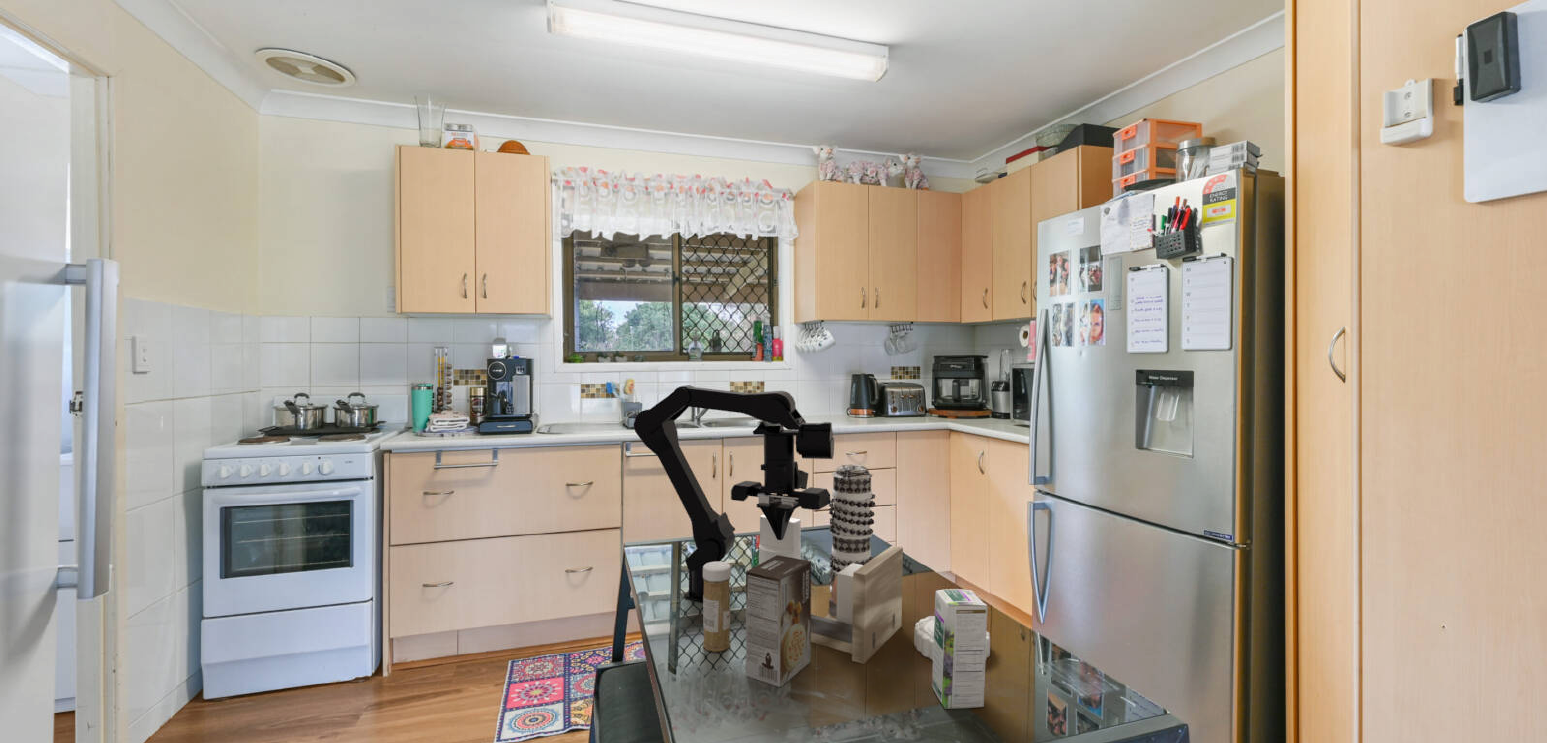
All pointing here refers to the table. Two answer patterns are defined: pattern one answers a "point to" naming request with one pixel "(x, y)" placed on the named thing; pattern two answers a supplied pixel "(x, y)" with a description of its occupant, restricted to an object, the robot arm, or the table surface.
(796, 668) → the coffee box
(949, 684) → the syrup box
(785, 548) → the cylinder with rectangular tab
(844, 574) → the push knob
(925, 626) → the mooncake
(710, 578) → the sprinkles bottle
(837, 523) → the decorative candle
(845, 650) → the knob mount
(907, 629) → the table surface
